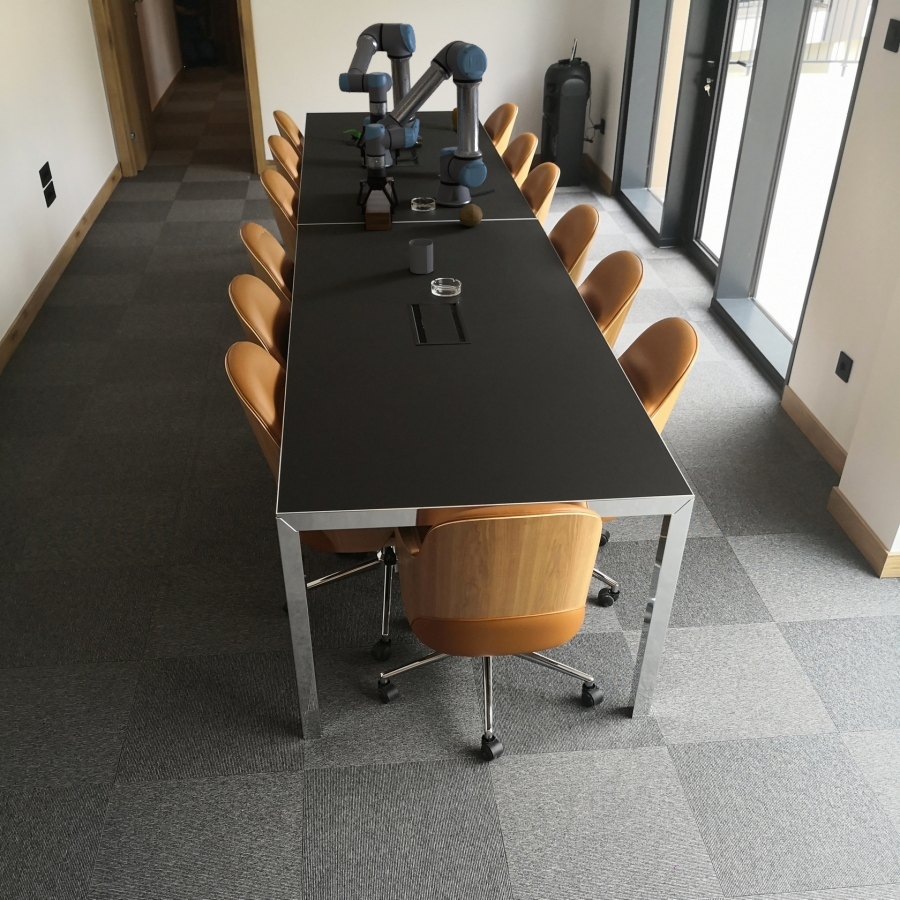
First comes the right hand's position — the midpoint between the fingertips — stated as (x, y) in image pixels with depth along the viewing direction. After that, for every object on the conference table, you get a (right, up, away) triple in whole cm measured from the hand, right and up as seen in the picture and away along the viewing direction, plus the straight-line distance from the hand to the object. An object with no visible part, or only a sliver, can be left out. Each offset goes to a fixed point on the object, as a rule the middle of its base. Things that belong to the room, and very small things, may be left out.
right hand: (378, 222), depth 352 cm
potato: (+37, -2, -2) cm, 37 cm away
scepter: (-14, +73, +115) cm, 137 cm away
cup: (+19, -28, -43) cm, 55 cm away
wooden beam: (0, +9, +15) cm, 18 cm away
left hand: (-1, +31, +23) cm, 38 cm away
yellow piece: (+35, +89, +139) cm, 169 cm away
